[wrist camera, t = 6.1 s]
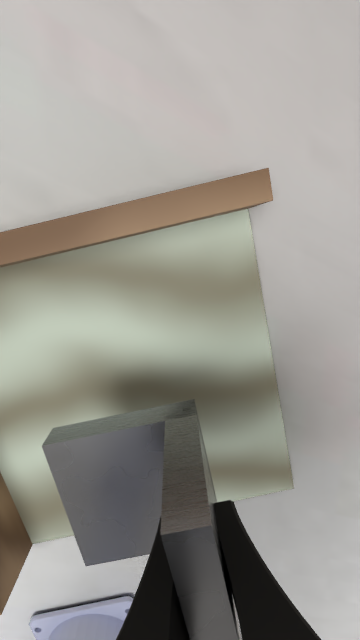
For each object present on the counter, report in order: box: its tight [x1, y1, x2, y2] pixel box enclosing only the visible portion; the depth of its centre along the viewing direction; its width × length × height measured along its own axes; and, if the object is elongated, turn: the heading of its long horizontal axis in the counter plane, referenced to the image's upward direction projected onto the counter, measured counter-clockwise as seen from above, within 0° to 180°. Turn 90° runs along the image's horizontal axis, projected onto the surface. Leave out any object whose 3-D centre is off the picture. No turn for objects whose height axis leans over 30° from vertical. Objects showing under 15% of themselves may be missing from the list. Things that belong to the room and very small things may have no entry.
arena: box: [0, 168, 294, 615], centre depth 17 cm, size 19×19×5 cm
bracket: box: [42, 399, 242, 640], centre depth 11 cm, size 6×6×6 cm
